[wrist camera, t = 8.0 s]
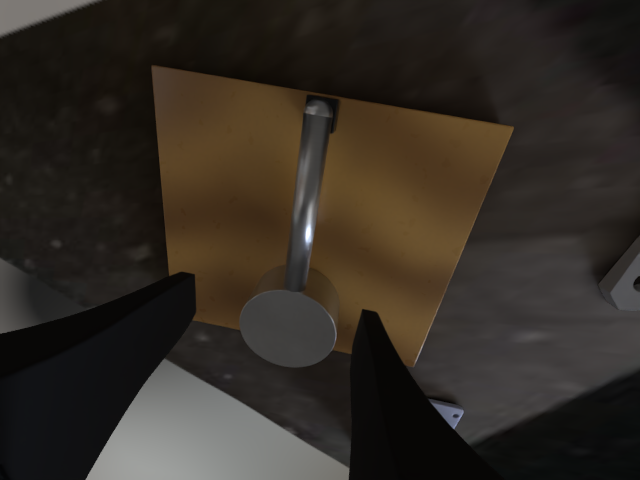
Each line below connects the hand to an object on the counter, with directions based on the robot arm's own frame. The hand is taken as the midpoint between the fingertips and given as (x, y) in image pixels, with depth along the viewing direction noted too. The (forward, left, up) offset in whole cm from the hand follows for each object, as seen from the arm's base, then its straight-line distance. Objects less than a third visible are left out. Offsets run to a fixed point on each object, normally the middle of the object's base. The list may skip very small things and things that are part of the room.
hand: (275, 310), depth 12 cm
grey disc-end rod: (0, 0, -8) cm, 8 cm away
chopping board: (0, 0, -9) cm, 9 cm away
